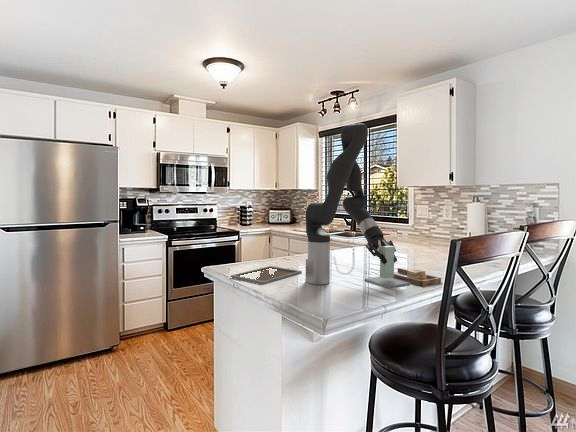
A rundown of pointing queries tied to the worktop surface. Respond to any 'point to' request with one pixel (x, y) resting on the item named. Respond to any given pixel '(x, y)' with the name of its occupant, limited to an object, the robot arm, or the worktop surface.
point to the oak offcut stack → (417, 274)
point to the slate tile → (387, 282)
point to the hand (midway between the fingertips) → (390, 262)
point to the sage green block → (387, 268)
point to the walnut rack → (429, 280)
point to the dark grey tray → (268, 275)
